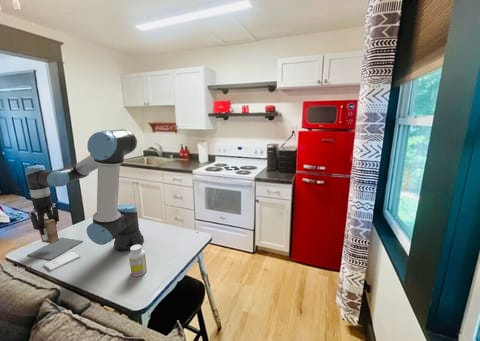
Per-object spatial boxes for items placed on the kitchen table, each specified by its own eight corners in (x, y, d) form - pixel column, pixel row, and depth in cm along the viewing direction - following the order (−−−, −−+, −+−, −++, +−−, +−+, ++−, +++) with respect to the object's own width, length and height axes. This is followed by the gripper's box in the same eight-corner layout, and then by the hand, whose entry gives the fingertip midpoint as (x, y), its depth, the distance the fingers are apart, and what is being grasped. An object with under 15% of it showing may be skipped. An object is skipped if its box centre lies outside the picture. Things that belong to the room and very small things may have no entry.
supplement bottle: (139, 266, 110) (136, 241, 107) (150, 269, 108) (147, 244, 105) (127, 274, 104) (124, 249, 101) (139, 278, 102) (135, 252, 99)
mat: (83, 241, 132) (83, 240, 132) (51, 260, 115) (50, 259, 115) (61, 238, 136) (61, 237, 136) (27, 255, 119) (27, 254, 119)
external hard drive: (80, 258, 118) (51, 272, 107) (72, 253, 122) (43, 266, 111) (80, 255, 117) (50, 269, 107) (72, 251, 121) (43, 263, 111)
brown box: (59, 240, 124) (54, 219, 121) (52, 243, 120) (47, 222, 117) (49, 238, 125) (44, 218, 122) (42, 242, 122) (37, 221, 119)
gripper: (52, 190, 126) (60, 229, 131) (16, 201, 110) (27, 245, 115) (62, 191, 124) (70, 231, 129) (28, 202, 108) (38, 247, 113)
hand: (49, 237), depth 122 cm, fingers closed on brown box, 4 cm apart
